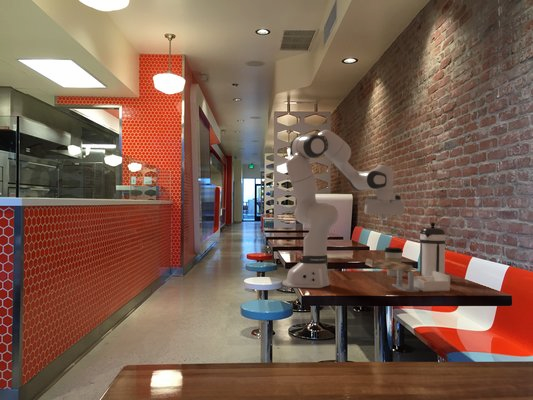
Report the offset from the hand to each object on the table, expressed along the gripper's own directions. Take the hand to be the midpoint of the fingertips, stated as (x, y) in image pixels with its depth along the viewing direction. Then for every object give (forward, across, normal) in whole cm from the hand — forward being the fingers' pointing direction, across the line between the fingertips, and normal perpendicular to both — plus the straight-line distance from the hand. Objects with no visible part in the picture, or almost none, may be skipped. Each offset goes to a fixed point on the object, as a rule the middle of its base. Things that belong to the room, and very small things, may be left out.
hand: (383, 223), depth 213 cm
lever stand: (+29, +2, -20) cm, 35 cm away
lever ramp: (+21, -4, -16) cm, 26 cm away
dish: (+29, +14, -20) cm, 38 cm away
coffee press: (+29, +28, +2) cm, 41 cm away
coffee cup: (+29, +12, +14) cm, 35 cm away
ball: (+26, +10, -20) cm, 35 cm away
